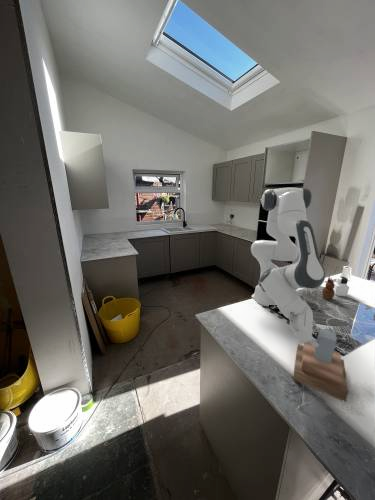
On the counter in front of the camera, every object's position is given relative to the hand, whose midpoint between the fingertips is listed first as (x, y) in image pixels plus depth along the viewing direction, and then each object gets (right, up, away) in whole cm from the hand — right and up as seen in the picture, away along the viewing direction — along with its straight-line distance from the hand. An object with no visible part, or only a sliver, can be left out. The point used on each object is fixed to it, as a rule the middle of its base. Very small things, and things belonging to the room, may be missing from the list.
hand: (316, 337), depth 76 cm
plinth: (+2, -15, +3) cm, 15 cm away
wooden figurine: (+43, +1, +58) cm, 72 cm away
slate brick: (+2, -7, +1) cm, 8 cm away
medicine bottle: (+55, +3, +64) cm, 85 cm away
